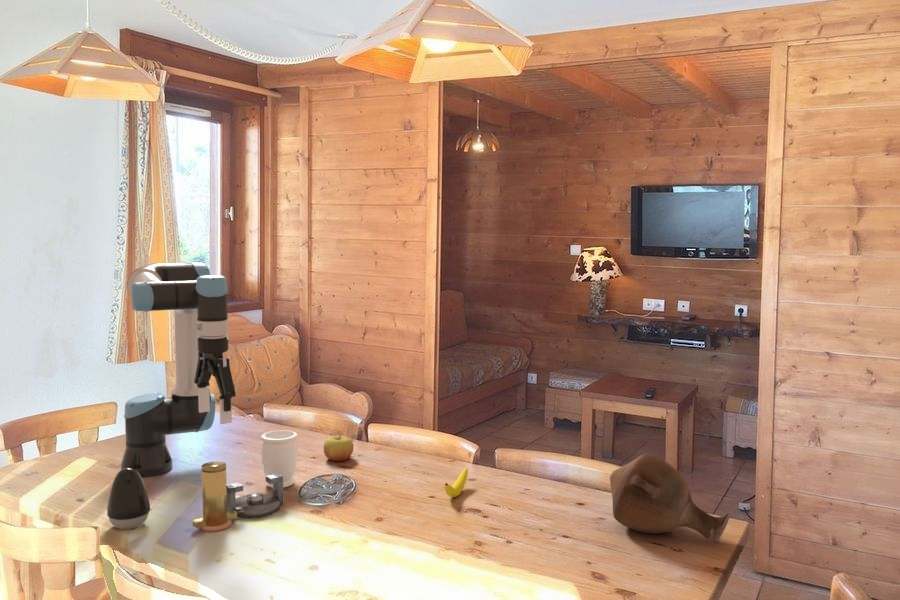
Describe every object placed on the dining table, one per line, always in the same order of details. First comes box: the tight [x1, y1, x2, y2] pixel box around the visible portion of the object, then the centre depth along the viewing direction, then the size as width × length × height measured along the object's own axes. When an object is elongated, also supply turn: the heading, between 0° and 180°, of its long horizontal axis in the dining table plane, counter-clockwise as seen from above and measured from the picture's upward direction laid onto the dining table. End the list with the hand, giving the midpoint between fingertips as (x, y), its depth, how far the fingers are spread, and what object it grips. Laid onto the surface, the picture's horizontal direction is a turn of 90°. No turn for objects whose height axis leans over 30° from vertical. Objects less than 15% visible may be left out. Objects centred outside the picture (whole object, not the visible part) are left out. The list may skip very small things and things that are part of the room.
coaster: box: [199, 519, 233, 533], centre depth 201 cm, size 8×8×1 cm
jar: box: [261, 429, 298, 489], centre depth 232 cm, size 11×10×15 cm
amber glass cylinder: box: [192, 461, 238, 529], centre depth 200 cm, size 6×11×15 cm, turn 130°
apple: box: [323, 435, 354, 462], centre depth 256 cm, size 10×10×8 cm
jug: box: [609, 452, 731, 543], centre depth 197 cm, size 20×20×30 cm
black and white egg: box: [106, 468, 151, 530], centre depth 200 cm, size 10×10×15 cm
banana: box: [444, 467, 469, 498], centre depth 224 cm, size 3×19×6 cm, turn 161°
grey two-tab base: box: [227, 473, 284, 519], centre depth 212 cm, size 13×16×8 cm
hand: (214, 417), depth 202 cm, fingers open, 13 cm apart
